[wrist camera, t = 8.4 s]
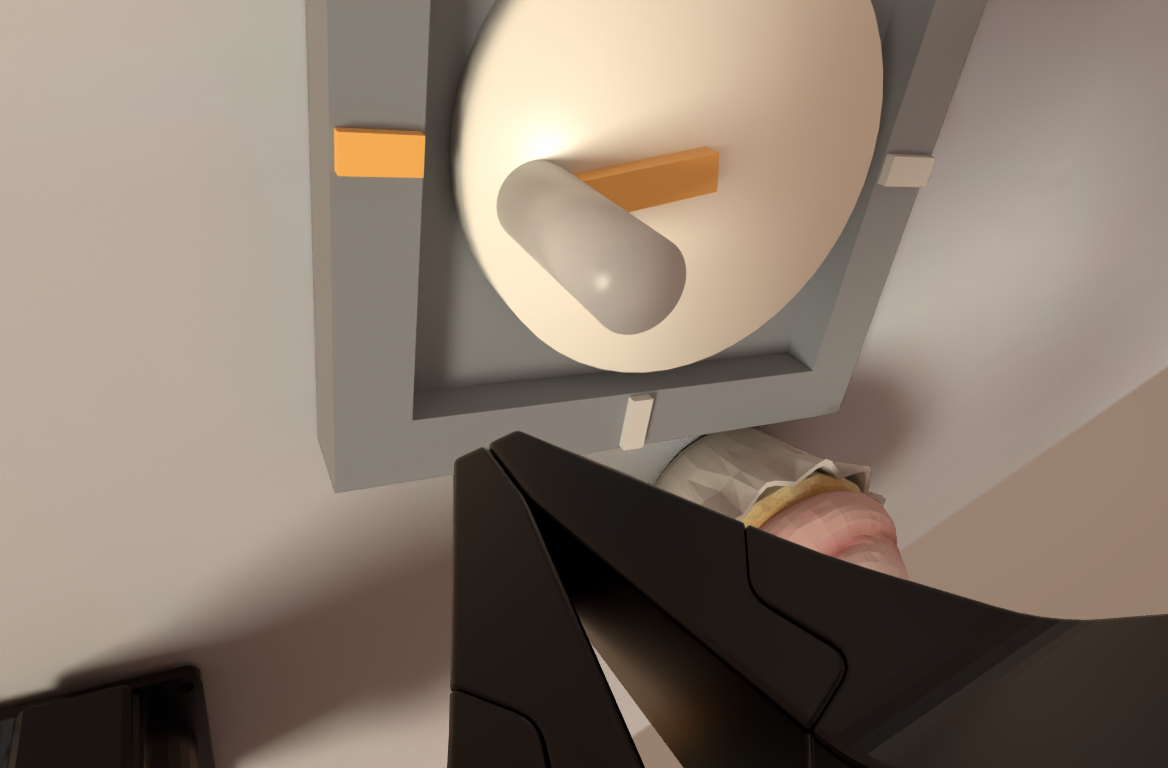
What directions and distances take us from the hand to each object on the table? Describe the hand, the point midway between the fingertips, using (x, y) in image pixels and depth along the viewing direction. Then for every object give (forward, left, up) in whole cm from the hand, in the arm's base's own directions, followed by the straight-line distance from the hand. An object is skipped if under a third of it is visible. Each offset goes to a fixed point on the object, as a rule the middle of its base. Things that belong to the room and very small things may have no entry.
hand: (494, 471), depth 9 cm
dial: (+1, -9, -11) cm, 14 cm away
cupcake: (-13, -15, -13) cm, 23 cm away
